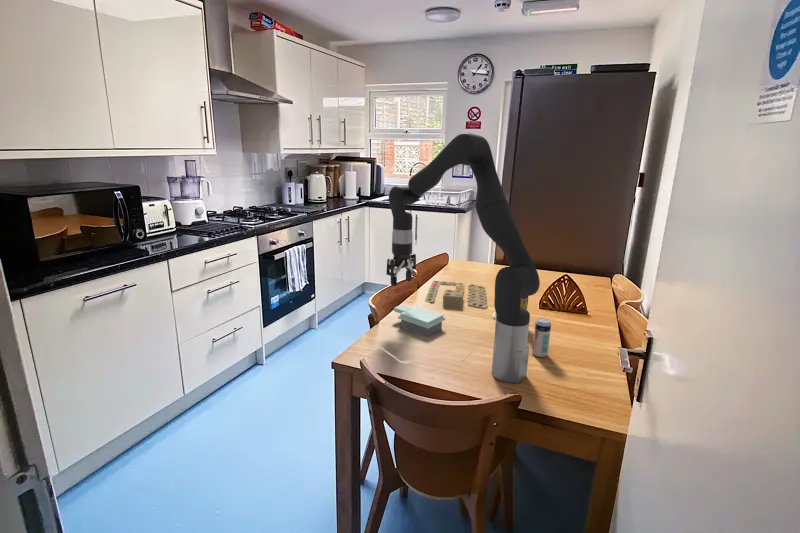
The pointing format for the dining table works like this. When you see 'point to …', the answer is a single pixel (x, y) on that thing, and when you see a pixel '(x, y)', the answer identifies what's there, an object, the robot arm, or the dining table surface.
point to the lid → (419, 316)
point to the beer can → (541, 337)
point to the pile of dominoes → (458, 295)
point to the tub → (421, 328)
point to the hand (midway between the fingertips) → (401, 283)
